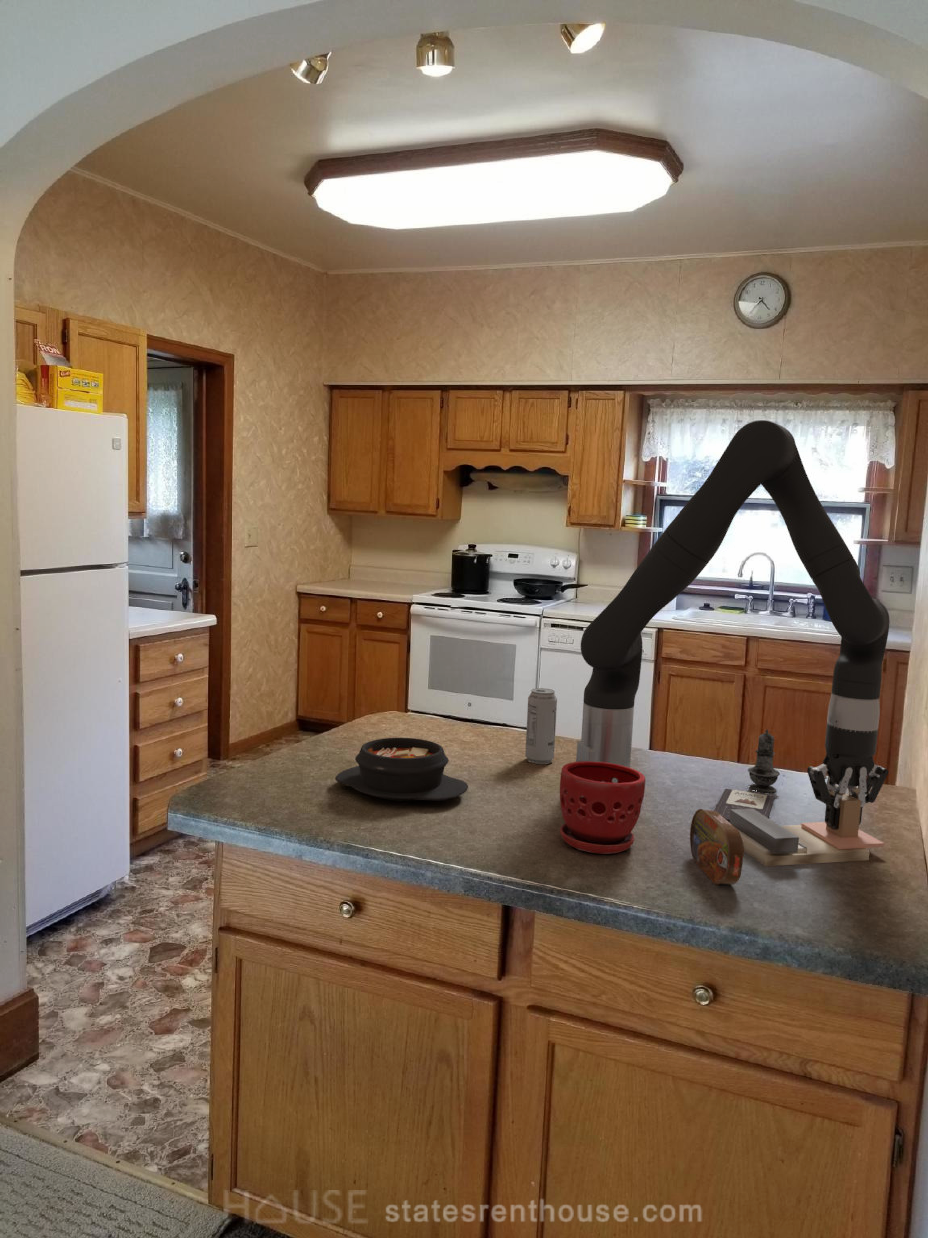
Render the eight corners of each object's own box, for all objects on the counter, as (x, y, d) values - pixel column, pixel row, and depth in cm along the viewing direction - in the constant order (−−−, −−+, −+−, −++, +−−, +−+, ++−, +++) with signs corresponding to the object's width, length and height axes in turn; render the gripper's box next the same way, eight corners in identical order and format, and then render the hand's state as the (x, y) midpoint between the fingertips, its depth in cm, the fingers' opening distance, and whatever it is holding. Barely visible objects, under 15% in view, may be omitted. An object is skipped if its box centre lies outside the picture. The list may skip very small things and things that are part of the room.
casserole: (314, 795, 159) (315, 749, 158) (366, 769, 176) (368, 727, 175) (441, 819, 149) (443, 770, 148) (483, 789, 166) (485, 745, 165)
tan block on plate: (839, 849, 138) (843, 808, 137) (801, 826, 148) (804, 788, 147) (883, 846, 140) (887, 806, 139) (843, 824, 149) (846, 786, 149)
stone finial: (774, 785, 175) (779, 726, 174) (781, 795, 170) (786, 733, 168) (743, 783, 176) (748, 724, 174) (750, 793, 170) (755, 731, 169)
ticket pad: (766, 867, 134) (769, 838, 133) (723, 836, 146) (725, 809, 146) (870, 861, 138) (873, 833, 137) (819, 831, 150) (821, 805, 150)
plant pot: (621, 867, 132) (627, 788, 130) (542, 846, 139) (546, 772, 137) (652, 841, 143) (657, 768, 141) (578, 823, 150) (582, 754, 148)
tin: (686, 853, 138) (690, 800, 137) (706, 853, 139) (710, 801, 138) (722, 895, 124) (727, 836, 123) (744, 895, 124) (749, 836, 123)
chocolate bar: (710, 816, 154) (725, 788, 171) (710, 821, 154) (725, 793, 171) (765, 825, 151) (774, 796, 167) (764, 831, 151) (774, 801, 167)
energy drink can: (555, 765, 183) (558, 694, 181) (525, 764, 183) (529, 693, 182) (552, 757, 189) (556, 688, 187) (524, 756, 189) (527, 687, 187)
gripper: (828, 729, 136) (818, 838, 138) (907, 728, 139) (895, 834, 142) (799, 718, 143) (790, 821, 146) (875, 717, 147) (864, 818, 149)
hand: (842, 827), depth 144 cm, fingers closed on tan block on plate, 3 cm apart
